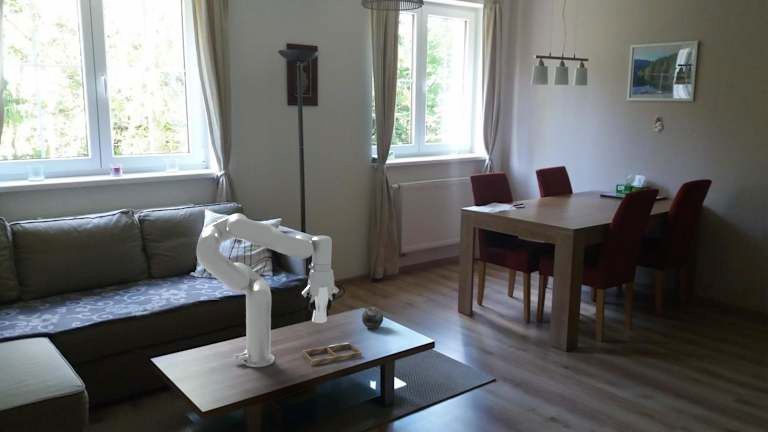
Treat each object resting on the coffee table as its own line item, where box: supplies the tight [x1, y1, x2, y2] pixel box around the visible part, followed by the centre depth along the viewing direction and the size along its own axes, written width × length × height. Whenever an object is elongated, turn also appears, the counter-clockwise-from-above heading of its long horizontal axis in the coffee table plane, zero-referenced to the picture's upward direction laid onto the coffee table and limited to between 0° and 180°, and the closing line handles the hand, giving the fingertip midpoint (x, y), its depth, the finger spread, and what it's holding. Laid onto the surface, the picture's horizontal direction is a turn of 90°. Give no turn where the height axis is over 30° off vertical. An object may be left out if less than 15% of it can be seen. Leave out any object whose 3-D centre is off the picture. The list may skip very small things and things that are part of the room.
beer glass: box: [311, 287, 329, 324], centre depth 250 cm, size 7×7×15 cm
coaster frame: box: [301, 342, 363, 366], centre depth 257 cm, size 22×11×2 cm, turn 118°
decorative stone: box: [361, 306, 384, 330], centre depth 289 cm, size 10×10×10 cm
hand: (319, 309), depth 251 cm, fingers closed on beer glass, 6 cm apart
